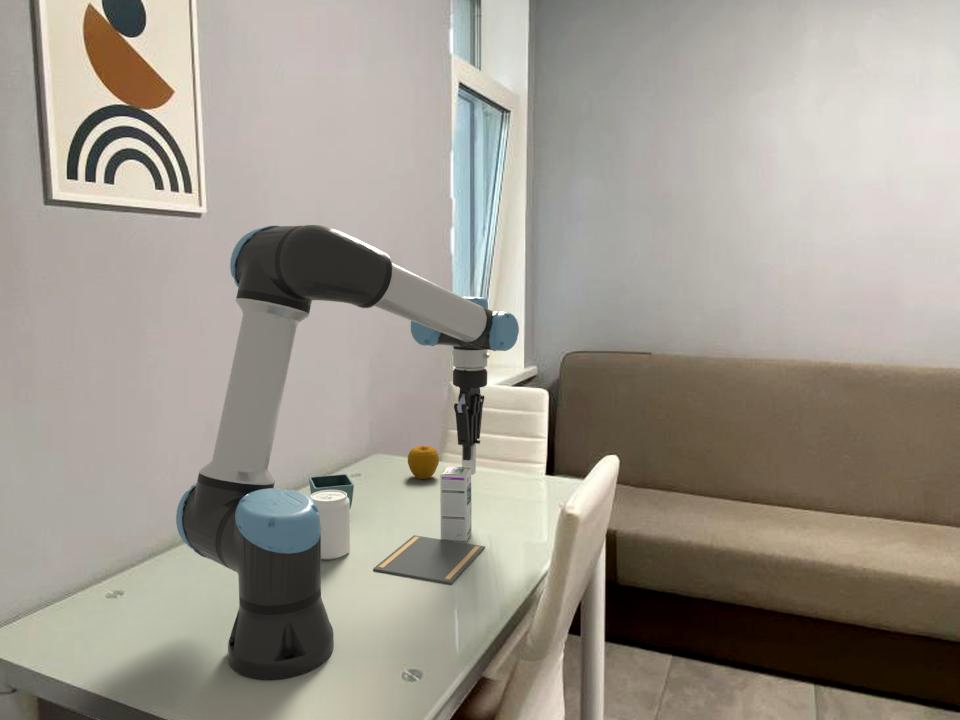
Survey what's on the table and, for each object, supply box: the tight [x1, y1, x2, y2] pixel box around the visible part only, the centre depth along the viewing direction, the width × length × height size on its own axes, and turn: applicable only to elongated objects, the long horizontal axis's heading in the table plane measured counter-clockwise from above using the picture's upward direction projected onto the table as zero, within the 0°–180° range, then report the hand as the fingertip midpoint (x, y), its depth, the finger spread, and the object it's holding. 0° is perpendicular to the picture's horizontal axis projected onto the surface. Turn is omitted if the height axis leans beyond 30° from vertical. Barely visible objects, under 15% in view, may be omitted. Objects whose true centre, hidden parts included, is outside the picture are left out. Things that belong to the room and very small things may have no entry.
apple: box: [407, 445, 440, 480], centre depth 193 cm, size 8×8×9 cm
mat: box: [372, 534, 486, 585], centre depth 139 cm, size 18×16×1 cm
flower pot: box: [308, 473, 355, 509], centre depth 160 cm, size 9×9×9 cm
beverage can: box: [309, 490, 351, 560], centre depth 141 cm, size 8×8×12 cm
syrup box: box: [439, 466, 473, 542], centre depth 151 cm, size 6×6×14 cm
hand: (468, 473), depth 157 cm, fingers closed
